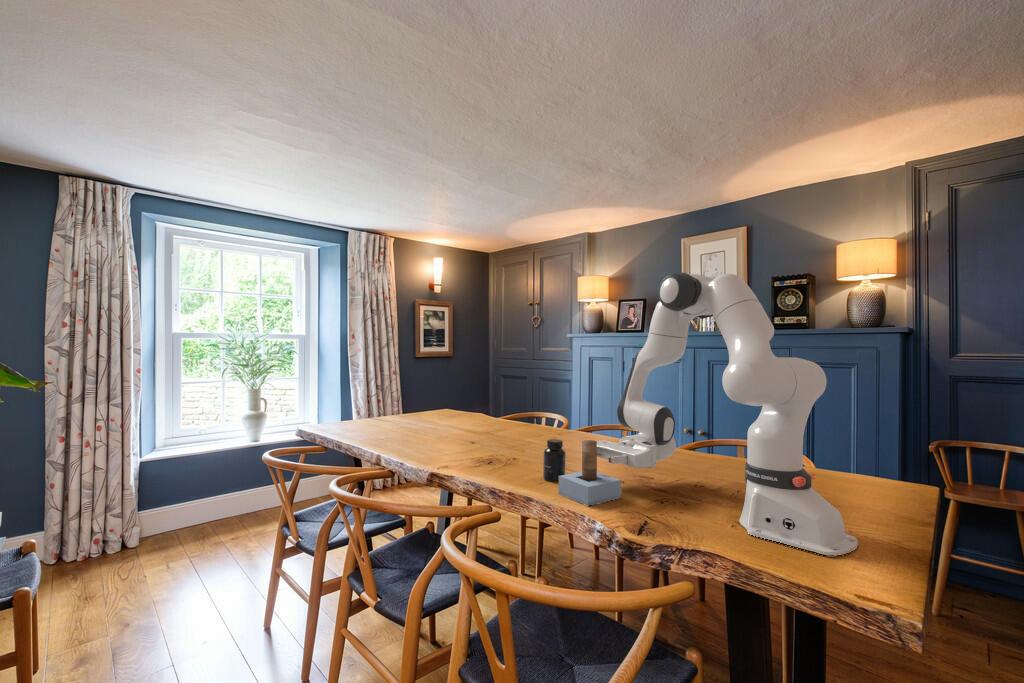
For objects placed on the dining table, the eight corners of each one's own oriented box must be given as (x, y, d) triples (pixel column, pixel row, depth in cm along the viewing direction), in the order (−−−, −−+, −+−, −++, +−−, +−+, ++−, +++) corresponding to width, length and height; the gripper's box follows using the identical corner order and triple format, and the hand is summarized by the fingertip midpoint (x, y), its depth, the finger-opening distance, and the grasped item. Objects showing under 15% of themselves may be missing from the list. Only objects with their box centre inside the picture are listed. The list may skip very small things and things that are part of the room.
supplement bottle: (541, 481, 140) (541, 442, 141) (545, 475, 147) (545, 437, 147) (563, 483, 139) (564, 443, 139) (566, 477, 145) (566, 438, 146)
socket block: (620, 498, 125) (620, 480, 125) (587, 506, 118) (588, 487, 118) (590, 487, 135) (590, 469, 135) (558, 493, 128) (558, 475, 129)
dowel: (599, 493, 126) (599, 442, 126) (588, 495, 124) (589, 443, 124) (589, 489, 130) (589, 439, 130) (578, 491, 127) (579, 441, 128)
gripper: (606, 434, 145) (573, 438, 137) (660, 446, 128) (625, 452, 120) (606, 454, 145) (573, 460, 137) (660, 469, 128) (625, 476, 120)
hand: (598, 456), depth 128 cm, fingers open, 8 cm apart
